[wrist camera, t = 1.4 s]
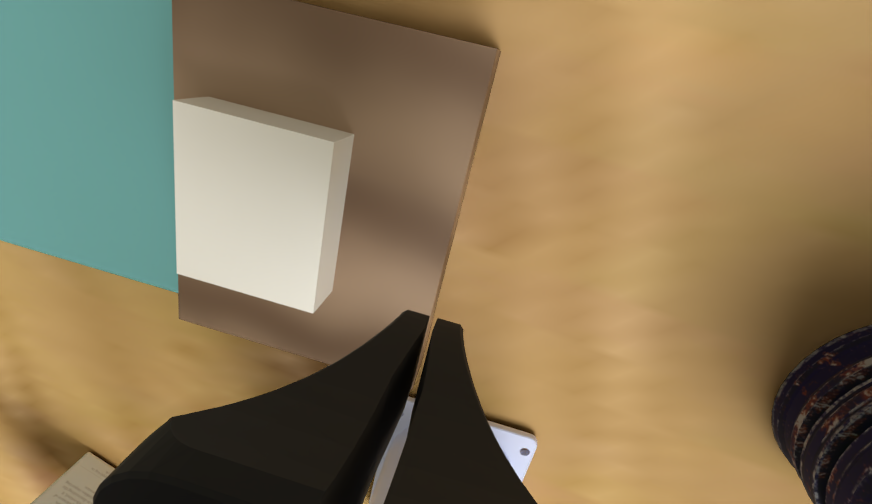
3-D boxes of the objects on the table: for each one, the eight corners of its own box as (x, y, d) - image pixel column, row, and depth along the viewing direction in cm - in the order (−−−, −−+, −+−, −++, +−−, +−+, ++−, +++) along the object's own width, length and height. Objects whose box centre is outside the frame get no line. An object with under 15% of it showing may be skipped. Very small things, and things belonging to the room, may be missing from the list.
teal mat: (204, 293, 25) (196, 298, 24) (-17, 228, 26) (-29, 231, 25) (205, -20, 18) (195, -22, 18) (-85, -89, 19) (-103, -93, 19)
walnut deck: (422, 358, 24) (412, 389, 21) (210, 295, 24) (178, 319, 22) (500, 51, 17) (497, 49, 15) (214, -17, 18) (171, -29, 16)
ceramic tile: (332, 291, 20) (312, 313, 18) (207, 255, 20) (176, 273, 19) (354, 134, 17) (334, 142, 15) (208, 96, 18) (172, 100, 16)
